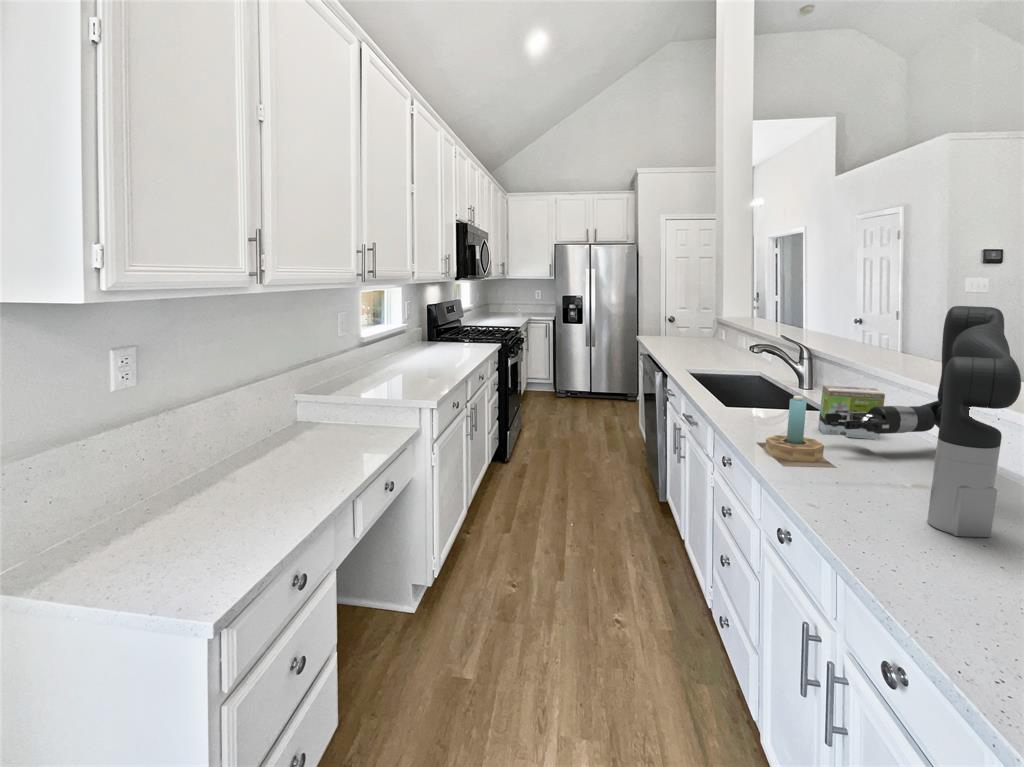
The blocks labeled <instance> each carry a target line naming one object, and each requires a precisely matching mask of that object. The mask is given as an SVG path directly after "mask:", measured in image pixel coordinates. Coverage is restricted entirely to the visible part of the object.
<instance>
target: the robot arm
mask: <svg viewBox="0 0 1024 767" xmlns="http://www.w3.org/2000/svg"><path fill="white" fill-rule="evenodd" d="M942 331H943V332H942V341H941V342H942V343H941V344H942V345H941V373H940V374H941V375H940V382H939V385H938V390H937V400H935V401H932V402H929V403H925V404H922V405H920V406H917V405H914V406H911V405H910V406H903V405H884V406H875V407H873V408H871V409H870V410H869V412H868V413H867V412H857V411H856V410H853V411H838V410H837V411H836V412H835V413H826V414H825V419H824V420H825V421H827V422H831V421H838V422H845V425H844V428H845V429H859V428H860V430H867V431H868V432H874V433H876V434H880V435H883V434H884V435H885V434H886V435H887V434H905V433H918V432H919V433H920V432H921V433H923V432H928V431H930V430H932V429H933V428H934V427H935V426H936V427H937V428H938V435H937V443H936V452H935V457H934V458H935V459H934V464H933V465H934V466H933V471H932V472H933V473H932V480H931V488H930V495H929V496H930V497H929V505H928V513H927V523H928V524H929V525H930V526H931V527H933V528H936V529H938V530H940V531H943V532H946V533H948V534H951V535H953V536H956V537H969V538H970V537H975V538H991V536H992V528H993V522H994V515H995V509H996V502H997V496H998V489H997V488H996V487H995V485H996V479H997V470H998V464H999V457H1000V450H1001V443H1002V436H1003V435H1002V432H1001V430H999V428H997V427H994V426H992V425H990V424H987V423H984V422H981V421H980V420H977V419H975V418H972V417H970V416H969V410H970V408H969V407H972V408H980V409H981V408H982V409H993V410H998V409H1001V410H1002V409H1007V408H1010V407H1011V406H1012V405H1014V404H1015V402H1017V400H1018V398H1019V396H1020V394H1021V388H1022V377H1021V372H1020V369H1019V367H1018V364H1017V363H1016V362H1017V361H1015V359H1014V358H1013V356H1012V355H1011V351H1010V346H1009V342H1008V339H1007V338H1006V335H1005V317H1004V313H1003V312H1002V311H1001V310H1000V309H999V308H997V307H992V306H991V307H990V306H973V305H972V306H970V305H969V306H967V305H955V306H952V307H950V309H948V311H947V312H946V315H945V319H944V323H943V330H942ZM842 415H843V417H842Z"/></svg>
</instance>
